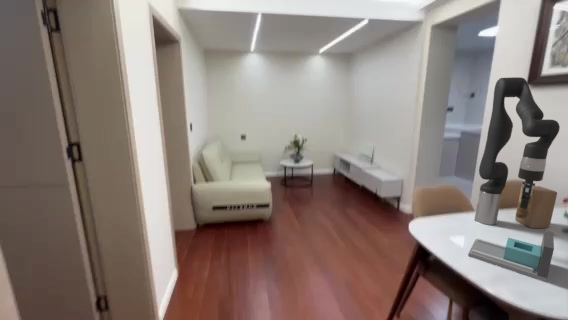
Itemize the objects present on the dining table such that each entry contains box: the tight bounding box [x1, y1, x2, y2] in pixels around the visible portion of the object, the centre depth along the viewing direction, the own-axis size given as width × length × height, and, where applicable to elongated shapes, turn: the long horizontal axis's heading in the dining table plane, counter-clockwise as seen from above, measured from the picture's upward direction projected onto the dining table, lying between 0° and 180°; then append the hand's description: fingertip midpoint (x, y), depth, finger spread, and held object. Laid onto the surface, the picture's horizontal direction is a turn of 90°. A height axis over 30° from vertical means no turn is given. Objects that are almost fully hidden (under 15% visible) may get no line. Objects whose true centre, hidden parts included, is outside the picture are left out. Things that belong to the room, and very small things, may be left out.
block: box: [514, 185, 558, 229], centre depth 135 cm, size 10×10×20 cm
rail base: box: [467, 230, 555, 283], centre depth 107 cm, size 24×16×14 cm
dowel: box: [515, 186, 534, 219], centre depth 111 cm, size 4×4×13 cm
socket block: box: [503, 237, 541, 271], centre depth 104 cm, size 10×10×6 cm
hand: (523, 206), depth 111 cm, fingers closed on dowel, 4 cm apart
